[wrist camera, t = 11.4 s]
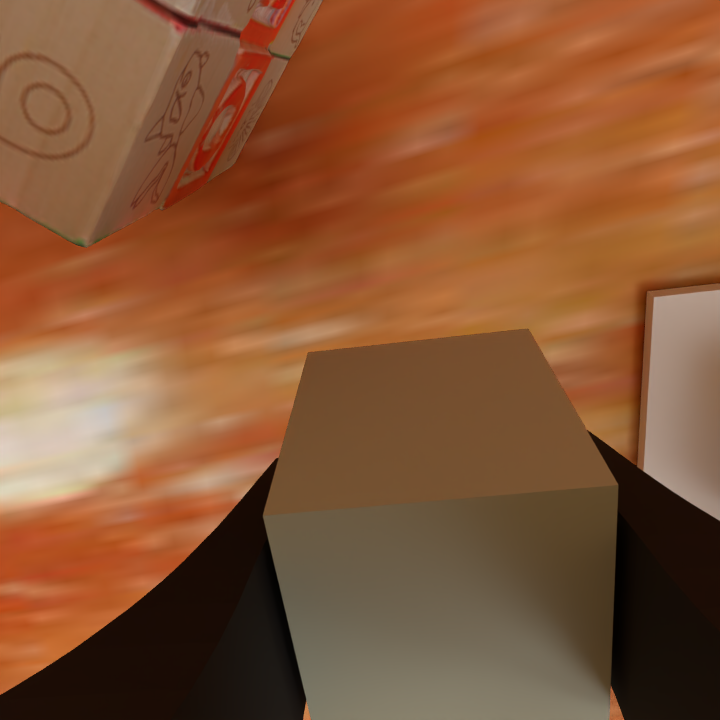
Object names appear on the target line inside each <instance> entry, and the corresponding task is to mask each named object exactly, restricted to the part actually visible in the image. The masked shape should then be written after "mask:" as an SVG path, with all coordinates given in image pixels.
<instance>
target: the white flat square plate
mask: <svg viewBox="0 0 720 720" xmlns="http://www.w3.org/2000/svg"><path fill="white" fill-rule="evenodd" d="M637 467H638V468H640V469H641V470H642V471H644V472H645V473H647V474H648V475H650V476H651V477H652V478H654V479H655V480H657V481H658V482H660V483H661V484H662V485H664V486H665V487H667V488H668V489H670V490H671V491H673V492H674V493H676V494H677V495H679V496H681V497H682V498H684V499H685V500H687V501H688V502H690V503H691V504H693V505H695V506H696V507H698V508H700V509H701V510H703V511H705V512H706V513H708V514H709V515H711V516H713V517H714V518H716V519H718V520H719V521H720V283H717V284H708V285H699V286H690V287H681V288H672V289H663V290H654V291H647V298H646V316H645V334H644V353H643V371H642V389H641V407H640V425H639V443H638V461H637Z"/></svg>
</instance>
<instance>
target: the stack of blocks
mask: <svg viewBox="0 0 720 720" xmlns="http://www.w3.org/2000/svg"><path fill="white" fill-rule="evenodd" d="M322 1H323V0H0V202H2V203H4V204H6V205H8V206H10V207H12V208H14V209H16V210H17V211H19V212H20V213H22V214H23V215H25V216H26V217H28V218H30V219H32V220H33V221H35V222H37V223H38V224H40V225H42V226H44V227H45V228H47V229H49V230H51V231H52V232H54V233H56V234H58V235H59V236H61V237H63V238H64V239H66V240H68V241H70V242H72V243H74V244H76V245H78V246H82V247H86V248H87V247H89V246H91V245H92V244H94V243H96V242H98V241H100V240H102V239H103V238H105V237H107V236H109V235H111V234H113V233H115V232H116V231H118V230H120V229H122V228H124V227H126V226H128V225H129V224H131V223H133V222H135V221H137V220H139V219H141V218H143V217H144V216H146V215H148V214H150V213H151V212H152V211H153V210H156V209H158V208H159V209H161V210H164V209H166V208H168V207H170V206H172V205H173V204H175V203H177V202H178V201H180V200H182V199H183V198H185V197H187V196H188V195H190V194H191V193H193V192H194V191H196V190H198V189H199V188H201V187H202V186H203V185H204V184H205V183H208V182H209V181H210V180H212V179H213V178H214V177H216V176H218V175H219V174H221V173H222V172H224V171H225V170H227V169H229V168H230V167H231V166H232V165H233V164H234V163H235V162H236V160H237V158H238V156H239V154H240V152H241V150H242V148H243V146H244V144H245V143H246V141H247V139H248V137H249V135H250V133H251V131H252V129H253V128H254V126H255V124H256V122H257V120H258V118H259V116H260V114H261V113H262V111H263V109H264V107H265V105H266V103H267V101H268V99H269V98H270V96H271V94H272V92H273V90H274V88H275V86H276V84H277V83H278V81H279V79H280V77H281V75H282V73H283V71H284V69H285V67H286V65H287V63H288V61H289V59H290V58H291V56H292V55H293V53H294V52H295V50H296V48H297V47H298V45H299V43H300V41H301V40H302V38H303V36H304V34H305V32H306V30H307V29H308V27H309V25H310V23H311V21H312V19H313V18H314V16H315V14H316V12H317V10H318V8H319V6H320V4H321V3H322Z"/></svg>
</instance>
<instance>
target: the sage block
mask: <svg viewBox="0 0 720 720" xmlns="http://www.w3.org/2000/svg"><path fill="white" fill-rule="evenodd" d="M617 508H618V483H617V482H616V480H615V478H614V476H613V475H612V473H611V471H610V469H609V468H608V466H607V464H606V463H605V461H604V459H603V457H602V456H601V454H600V452H599V450H598V449H597V447H596V445H595V443H594V442H593V440H592V438H591V437H590V435H589V433H588V431H587V430H586V428H585V426H584V424H583V423H582V421H581V419H580V417H579V416H578V414H577V412H576V411H575V409H574V407H573V405H572V404H571V402H570V400H569V398H568V397H567V395H566V393H565V391H564V390H563V388H562V386H561V385H560V383H559V381H558V379H557V378H556V376H555V374H554V372H553V371H552V369H551V367H550V365H549V364H548V362H547V360H546V359H545V357H544V355H543V353H542V352H541V350H540V348H539V346H538V345H537V343H536V341H535V339H534V338H533V336H532V334H531V333H530V331H529V329H520V330H511V331H501V332H492V333H483V334H474V335H464V336H455V337H446V338H437V339H428V340H418V341H409V342H400V343H391V344H381V345H372V346H363V347H354V348H344V349H335V350H326V351H317V352H308V354H307V358H306V362H305V365H304V369H303V372H302V376H301V380H300V383H299V387H298V390H297V394H296V398H295V401H294V405H293V408H292V412H291V416H290V419H289V423H288V426H287V430H286V434H285V437H284V441H283V444H282V448H281V452H280V455H279V459H278V462H277V466H276V470H275V473H274V477H273V480H272V484H271V488H270V491H269V495H268V499H267V502H266V506H265V509H264V513H263V519H264V523H265V527H266V532H267V536H268V540H269V544H270V549H271V553H272V557H273V561H274V565H275V570H276V574H277V578H278V582H279V586H280V591H281V595H282V599H283V603H284V607H285V612H286V616H287V620H288V624H289V629H290V633H291V637H292V641H293V645H294V650H295V654H296V658H297V662H298V666H299V671H300V675H301V679H302V683H303V688H304V692H305V696H306V700H307V704H308V709H309V713H310V717H311V720H609V714H610V688H611V662H612V637H613V611H614V585H615V560H616V534H617Z"/></svg>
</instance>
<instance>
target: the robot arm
mask: <svg viewBox="0 0 720 720" xmlns="http://www.w3.org/2000/svg"><path fill="white" fill-rule="evenodd" d="M587 431H588V430H587ZM588 433H589V435H590V437H591V438H592V440H593V442H594V443H595V445H596V447H597V449H598V450H599V452H600V454H601V456H602V457H603V459H604V461H605V463H606V464H607V466H608V468H609V469H610V471H611V473H612V475H613V476H614V478H615V480H616V482H617V483H618V508H617V534H616V560H615V585H614V611H613V637H612V662H611V686H612V689H613V691H614V694H615V696H616V698H617V701H618V704H619V706H620V709H621V712H622V714H623V717H624V720H720V521H719V520H718V519H716V518H714V517H713V516H711V515H709V514H708V513H706V512H705V511H703V510H701V509H700V508H698V507H696V506H695V505H693V504H691V503H690V502H688V501H687V500H685V499H684V498H682V497H681V496H679V495H677V494H676V493H674V492H673V491H671V490H670V489H668V488H667V487H665V486H664V485H662V484H661V483H660V482H658V481H657V480H655V479H654V478H652V477H651V476H650V475H648V474H647V473H645V472H644V471H642V470H641V469H640V468H638V467H637V466H635V465H634V464H633V463H631V462H630V461H629V460H627V459H626V458H625V457H623V456H622V455H620V454H619V453H618V452H616V451H615V450H614V449H612V448H611V447H610V446H608V445H607V444H606V443H604V442H603V441H602V440H600V439H599V438H598V437H596V436H595V435H593V434H592V433H591V432H589V431H588ZM278 459H279V458H276V459H275V461H274V462H273V463H272V464H271V465H270V466H269V467H268V469H267V470H266V471H265V472H264V473H263V474H262V476H261V477H260V478H259V479H258V480H257V482H256V483H255V484H254V485H253V486H252V488H251V489H250V490H249V491H248V492H247V493H246V495H245V496H244V497H243V498H242V499H241V501H240V502H239V503H238V504H237V505H236V506H235V507H234V509H233V510H232V511H231V512H230V513H229V514H228V515H227V517H226V518H225V519H224V520H223V521H222V522H221V523H220V524H219V526H218V527H217V528H216V529H215V530H214V531H213V532H212V533H211V534H210V535H209V536H208V537H207V538H206V539H205V540H204V541H203V542H202V543H201V544H200V545H199V546H198V547H197V548H196V549H195V550H194V551H193V552H192V553H191V554H190V555H189V556H188V557H187V558H186V559H185V560H184V561H183V562H182V563H181V564H180V565H179V566H178V567H177V568H176V569H175V570H174V571H173V572H172V573H171V574H169V575H168V576H167V577H166V578H165V579H164V580H163V581H162V582H160V583H159V584H158V585H157V586H156V587H155V588H153V589H152V590H151V591H150V592H149V593H147V594H146V595H145V596H144V597H143V598H142V599H140V600H139V601H138V602H137V603H135V604H134V605H133V606H132V607H130V608H129V609H128V610H127V611H125V612H124V613H123V614H121V615H120V616H118V617H117V618H116V619H114V620H113V621H112V622H110V623H109V624H108V625H106V626H105V627H103V628H102V629H101V630H99V631H98V632H97V633H95V634H94V635H93V636H91V637H90V638H89V639H87V640H86V641H84V642H83V643H82V644H80V645H79V646H78V647H76V648H75V649H73V650H72V651H70V652H69V653H67V654H66V655H64V656H63V657H61V658H59V659H58V660H56V661H55V662H53V663H52V664H50V665H49V666H47V667H46V668H44V669H43V670H41V671H39V672H38V673H36V674H34V675H33V676H31V677H30V678H28V679H26V680H25V681H23V682H21V683H20V684H18V685H16V686H15V687H13V688H12V689H10V690H8V691H6V692H5V693H3V694H1V695H0V720H303V716H304V710H305V704H306V696H305V692H304V688H303V683H302V679H301V675H300V671H299V666H298V662H297V658H296V654H295V650H294V645H293V641H292V637H291V633H290V629H289V624H288V620H287V616H286V612H285V607H284V603H283V599H282V595H281V591H280V586H279V582H278V578H277V574H276V570H275V565H274V561H273V557H272V553H271V549H270V544H269V540H268V536H267V532H266V527H265V523H264V519H263V513H264V509H265V506H266V502H267V499H268V495H269V491H270V488H271V484H272V480H273V477H274V473H275V470H276V466H277V462H278Z"/></svg>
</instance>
